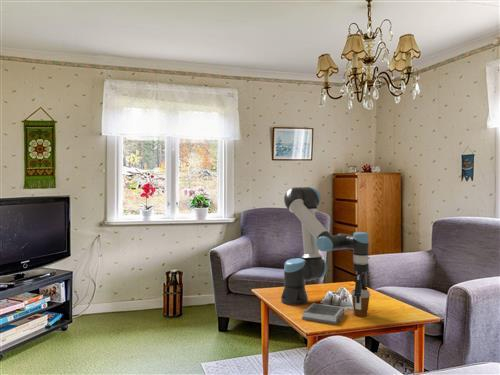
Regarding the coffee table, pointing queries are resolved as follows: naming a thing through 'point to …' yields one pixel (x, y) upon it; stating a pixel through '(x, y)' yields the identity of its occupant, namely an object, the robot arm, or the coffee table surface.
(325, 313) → the tray
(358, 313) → the disposable coffee cup
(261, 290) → the coffee table surface
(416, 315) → the coffee table surface
